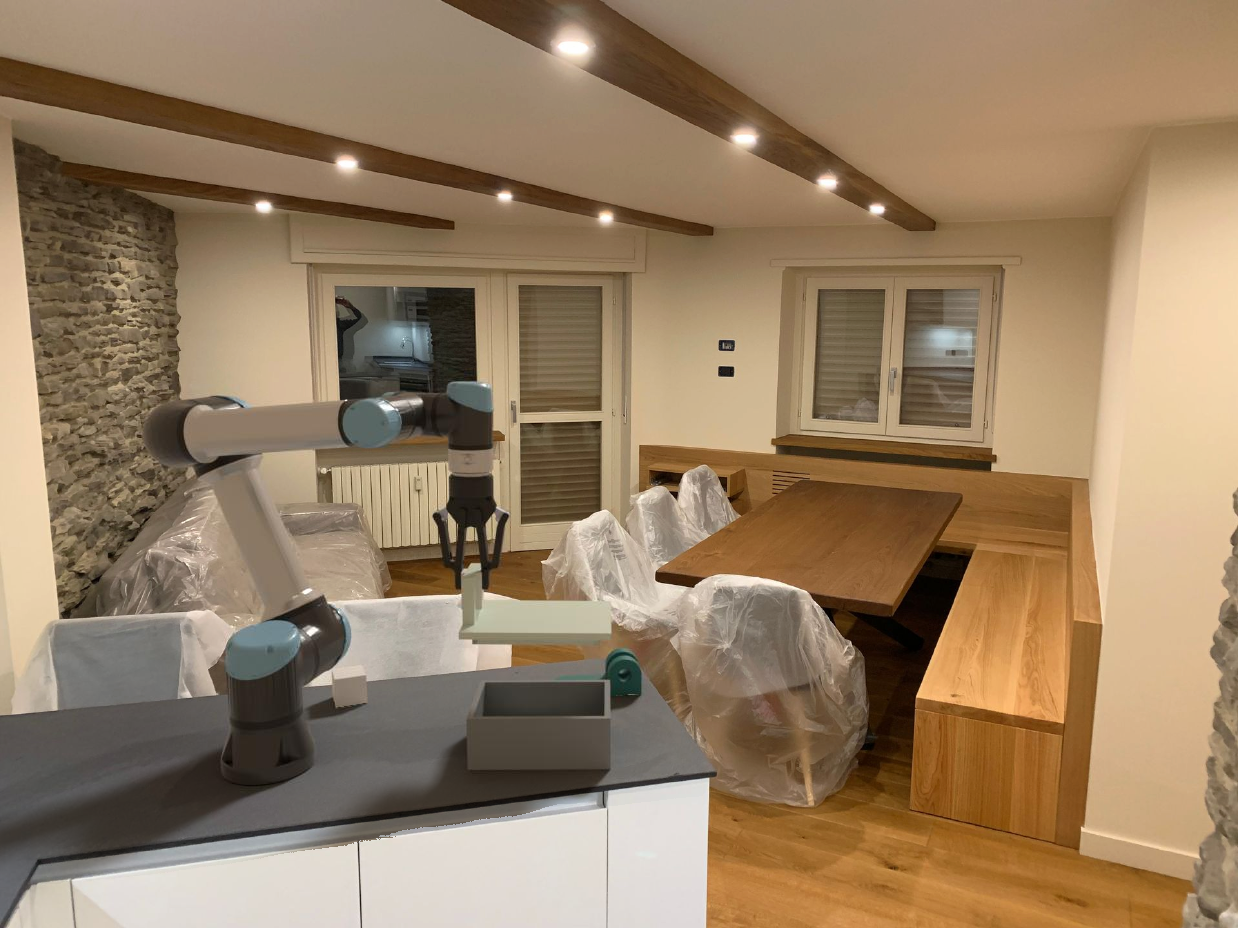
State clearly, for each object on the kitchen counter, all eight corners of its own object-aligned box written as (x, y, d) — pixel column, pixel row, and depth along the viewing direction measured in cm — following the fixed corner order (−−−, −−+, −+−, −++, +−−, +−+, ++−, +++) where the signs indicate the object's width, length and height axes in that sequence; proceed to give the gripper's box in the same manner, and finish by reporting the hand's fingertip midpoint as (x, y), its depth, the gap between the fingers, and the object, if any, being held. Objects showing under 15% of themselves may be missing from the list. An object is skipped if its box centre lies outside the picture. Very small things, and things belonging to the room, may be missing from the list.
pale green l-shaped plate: (458, 648, 147) (457, 584, 146) (475, 614, 165) (474, 557, 164) (611, 649, 148) (611, 586, 146) (610, 615, 165) (611, 558, 164)
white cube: (336, 708, 176) (334, 679, 175) (332, 697, 181) (331, 669, 180) (367, 703, 178) (366, 674, 177) (363, 692, 183) (362, 664, 183)
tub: (467, 769, 151) (466, 719, 149) (481, 726, 168) (480, 680, 166) (610, 769, 151) (610, 718, 150) (610, 725, 168) (610, 679, 167)
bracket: (637, 683, 189) (637, 647, 188) (641, 695, 182) (641, 658, 181) (551, 686, 187) (551, 650, 186) (552, 699, 180) (552, 662, 179)
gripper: (422, 476, 148) (424, 613, 152) (513, 476, 149) (514, 614, 152) (430, 469, 156) (433, 600, 159) (517, 470, 156) (518, 601, 159)
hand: (472, 606), depth 156 cm, fingers closed on pale green l-shaped plate, 2 cm apart
